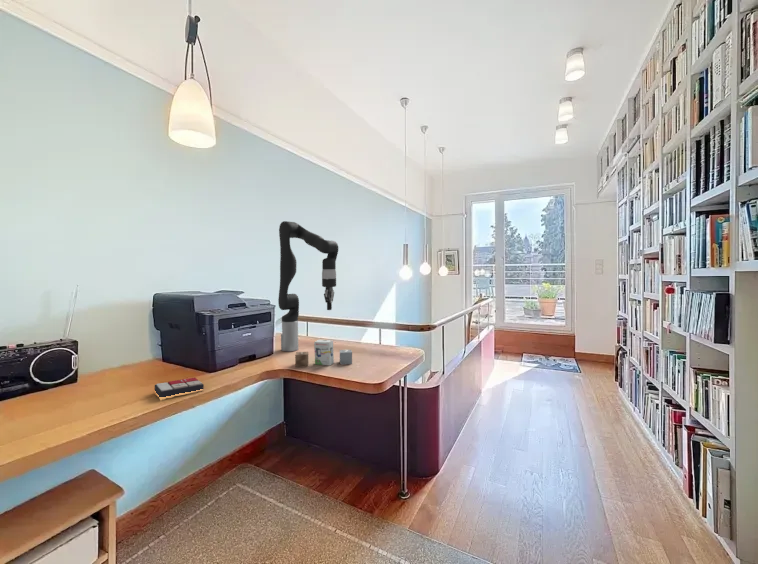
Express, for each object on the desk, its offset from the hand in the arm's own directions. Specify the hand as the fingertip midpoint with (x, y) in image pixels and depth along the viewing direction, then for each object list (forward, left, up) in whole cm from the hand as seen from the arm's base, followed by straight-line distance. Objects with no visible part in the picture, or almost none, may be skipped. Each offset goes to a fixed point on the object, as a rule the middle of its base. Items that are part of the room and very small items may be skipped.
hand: (329, 309), depth 188 cm
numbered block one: (-10, -16, -26) cm, 32 cm away
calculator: (-47, -56, -26) cm, 78 cm away
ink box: (0, -13, -26) cm, 29 cm away
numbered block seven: (+11, -10, -26) cm, 30 cm away
